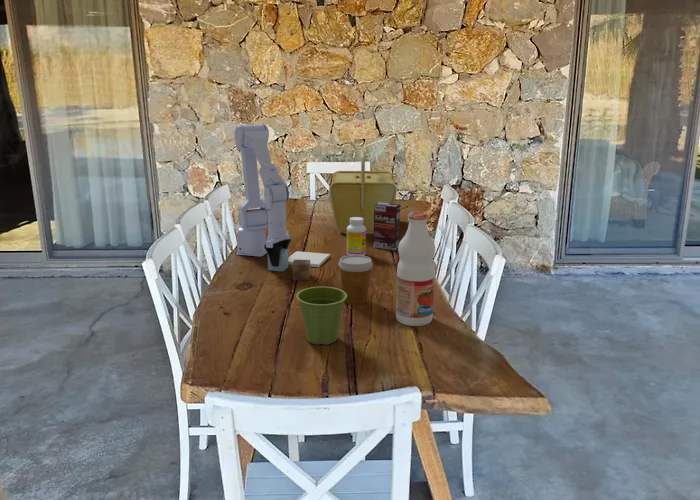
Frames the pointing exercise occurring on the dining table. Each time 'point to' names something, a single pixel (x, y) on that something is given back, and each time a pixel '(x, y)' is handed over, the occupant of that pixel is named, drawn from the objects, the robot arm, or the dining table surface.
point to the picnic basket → (359, 195)
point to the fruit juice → (415, 273)
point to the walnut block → (301, 269)
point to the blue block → (280, 261)
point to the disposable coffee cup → (355, 277)
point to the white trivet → (309, 258)
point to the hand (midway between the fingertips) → (278, 263)
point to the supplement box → (386, 225)
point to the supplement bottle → (356, 237)
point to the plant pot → (321, 313)
